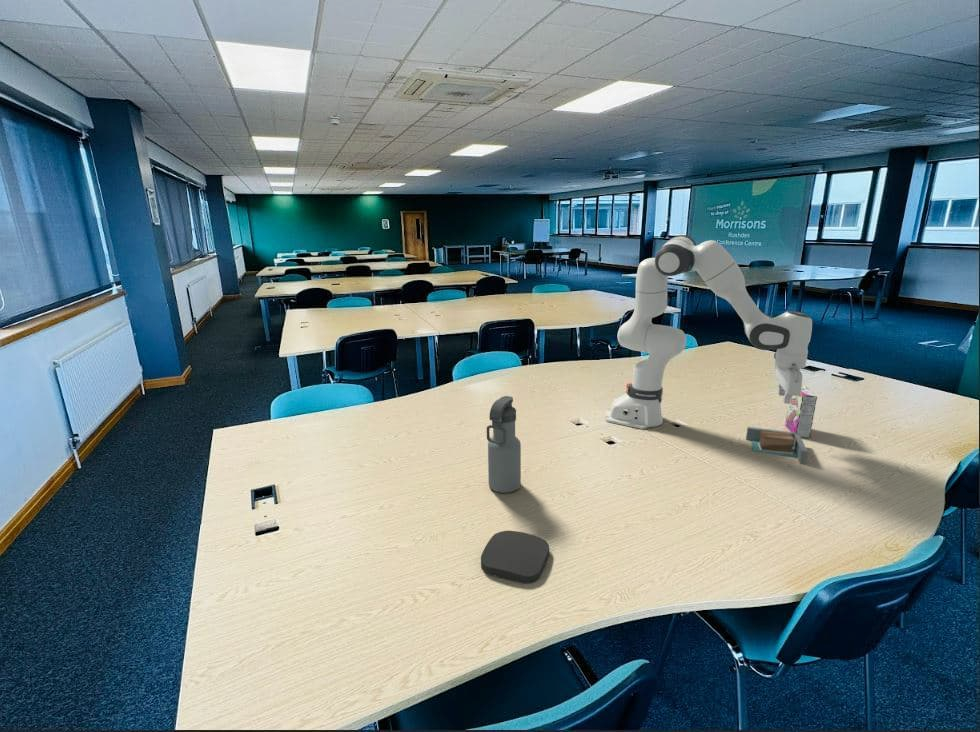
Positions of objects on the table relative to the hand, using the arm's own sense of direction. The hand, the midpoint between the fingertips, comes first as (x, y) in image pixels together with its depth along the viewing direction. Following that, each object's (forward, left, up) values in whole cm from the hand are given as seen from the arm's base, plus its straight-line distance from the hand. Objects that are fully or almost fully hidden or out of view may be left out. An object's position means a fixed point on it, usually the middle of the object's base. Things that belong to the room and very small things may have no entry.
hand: (783, 399), depth 166 cm
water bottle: (-80, -58, -18) cm, 101 cm away
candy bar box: (+9, +16, -18) cm, 25 cm away
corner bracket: (-1, -4, -18) cm, 18 cm away
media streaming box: (-66, -88, -18) cm, 112 cm away
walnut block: (-1, -3, -17) cm, 18 cm away
